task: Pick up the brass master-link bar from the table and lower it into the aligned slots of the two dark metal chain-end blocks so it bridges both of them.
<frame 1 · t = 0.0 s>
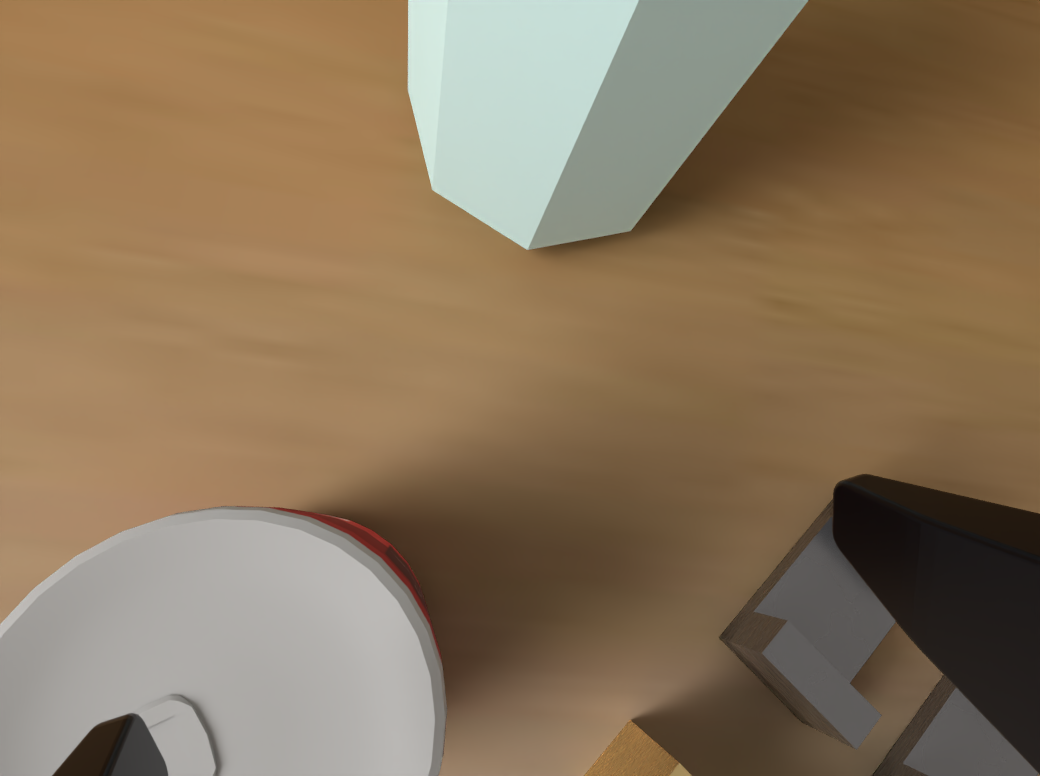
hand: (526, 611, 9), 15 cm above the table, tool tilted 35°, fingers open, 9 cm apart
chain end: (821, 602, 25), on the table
water bottle: (539, 141, 27), on the table
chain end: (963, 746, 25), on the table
canned food: (301, 637, 22), on the table
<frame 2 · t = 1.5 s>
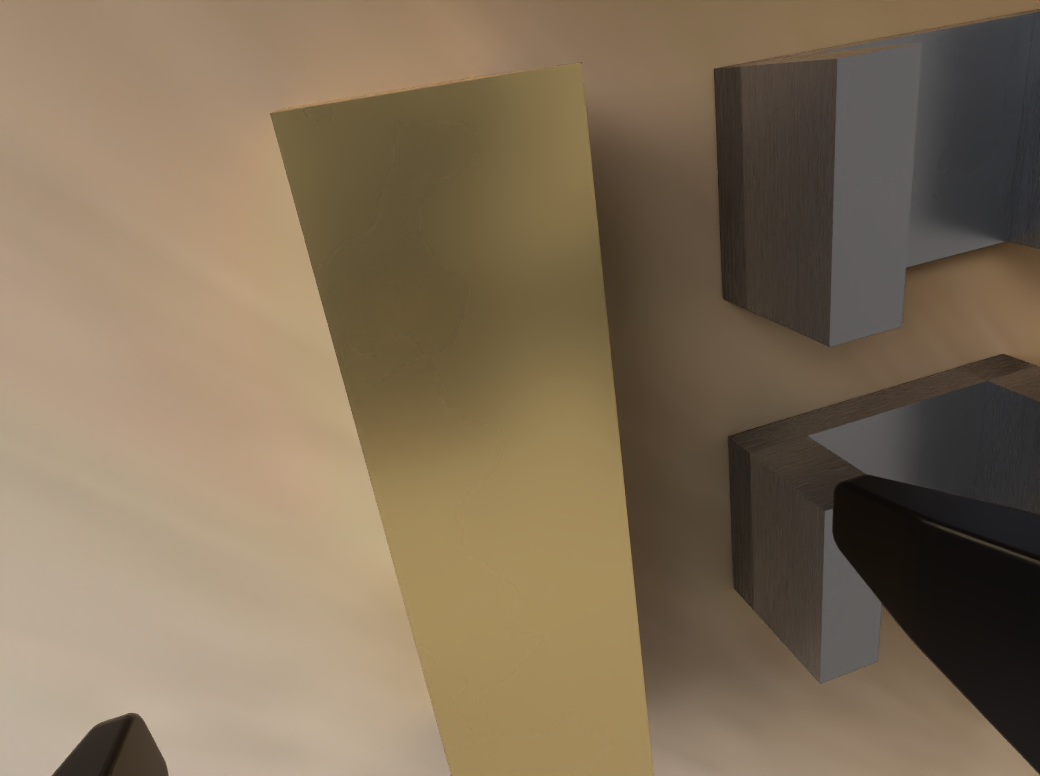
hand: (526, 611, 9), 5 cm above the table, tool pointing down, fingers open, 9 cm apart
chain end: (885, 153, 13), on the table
master link: (454, 439, 13), on the table
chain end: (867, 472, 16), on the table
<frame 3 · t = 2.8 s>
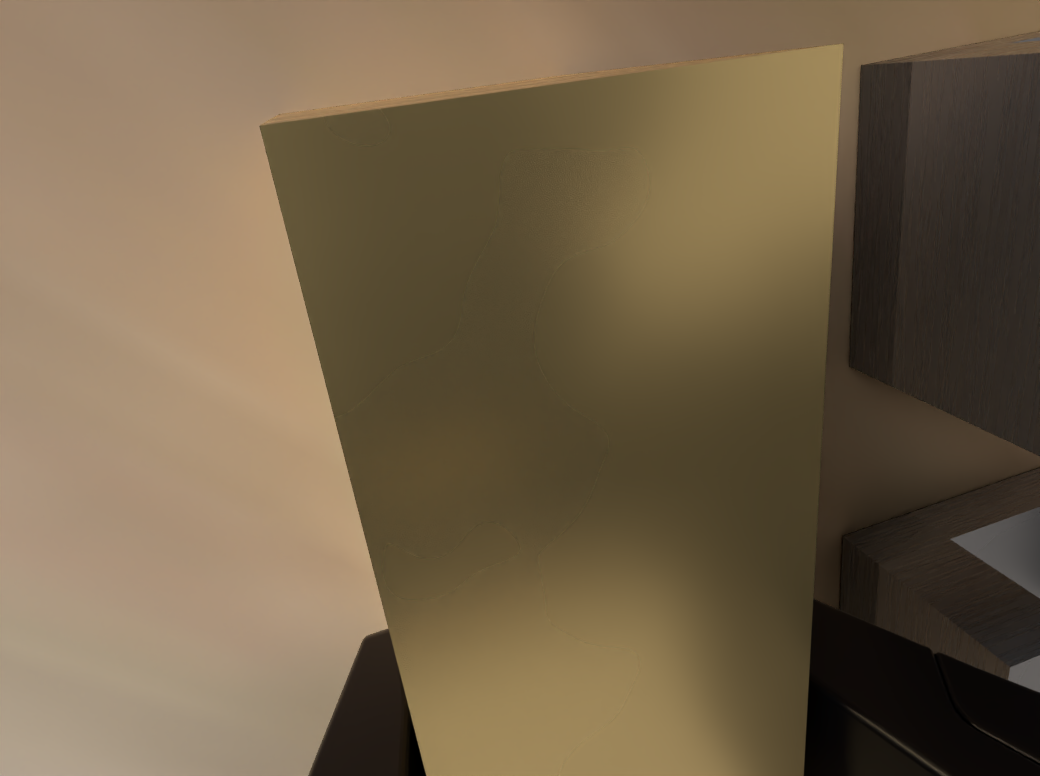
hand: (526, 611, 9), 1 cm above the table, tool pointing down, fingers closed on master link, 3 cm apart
master link: (501, 557, 10), on the table, touching gripper
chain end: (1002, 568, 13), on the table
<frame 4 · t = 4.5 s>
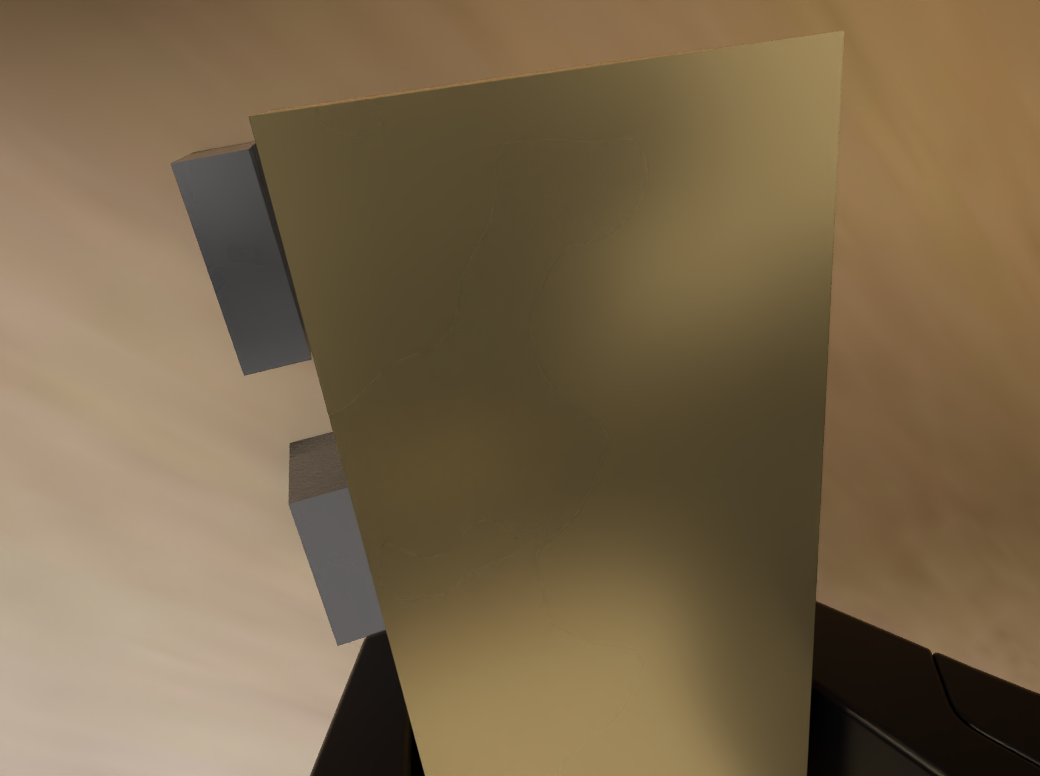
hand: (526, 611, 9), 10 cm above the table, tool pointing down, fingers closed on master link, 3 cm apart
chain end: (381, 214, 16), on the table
master link: (501, 556, 10), point 9 cm above the table, touching gripper
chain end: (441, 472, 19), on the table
when the fingers open (4 cm above the table, at t = 6.1 s): master link drops 2 cm, resting on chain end, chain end.
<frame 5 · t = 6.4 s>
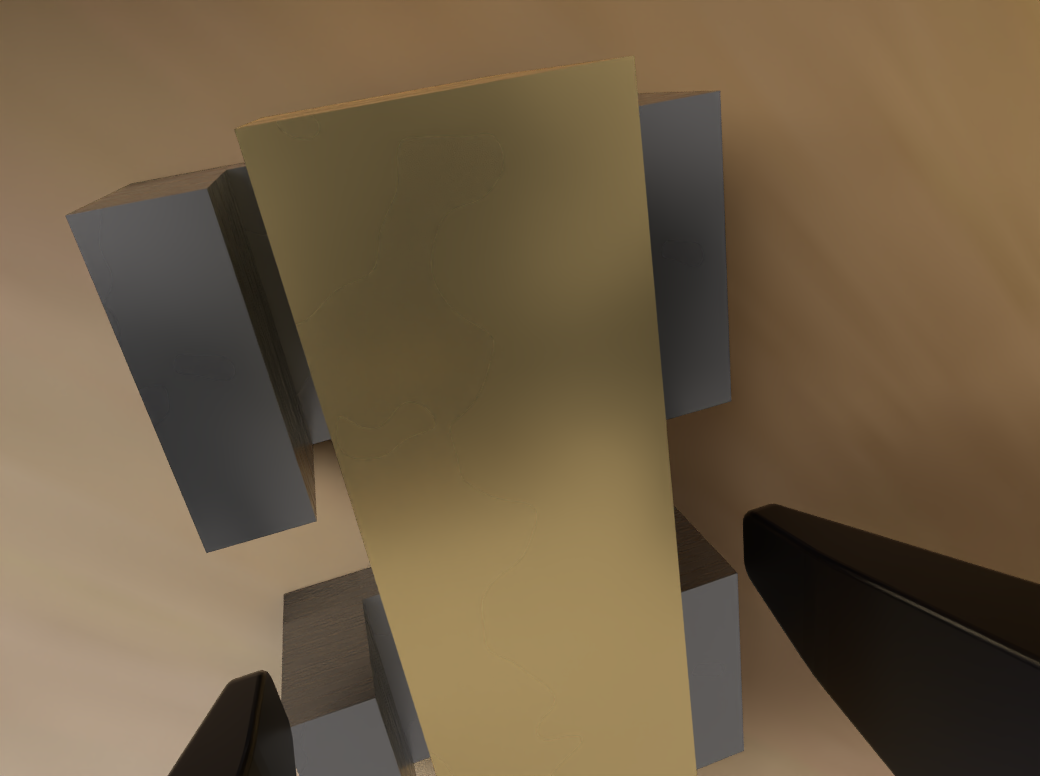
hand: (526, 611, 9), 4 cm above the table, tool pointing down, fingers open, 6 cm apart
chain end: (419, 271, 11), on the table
master link: (468, 485, 12), point 1 cm above the table, touching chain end, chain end
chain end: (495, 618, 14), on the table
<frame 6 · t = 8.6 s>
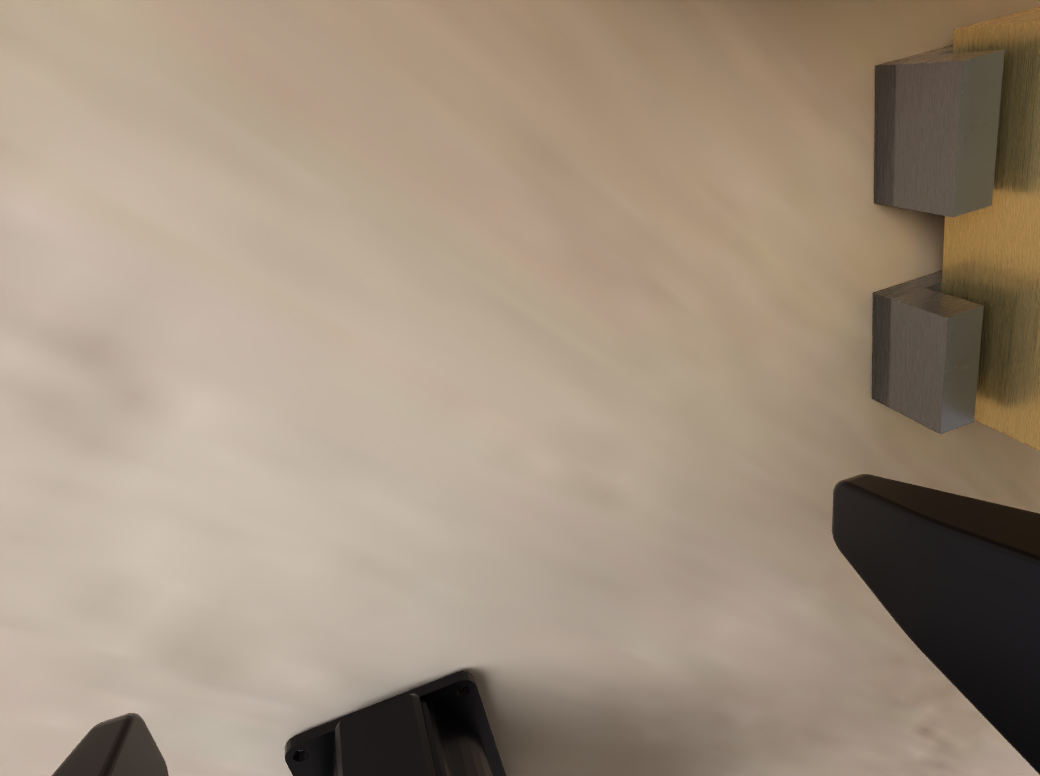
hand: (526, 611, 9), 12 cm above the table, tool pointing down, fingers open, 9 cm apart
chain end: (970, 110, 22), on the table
master link: (983, 224, 23), point 1 cm above the table, touching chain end, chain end
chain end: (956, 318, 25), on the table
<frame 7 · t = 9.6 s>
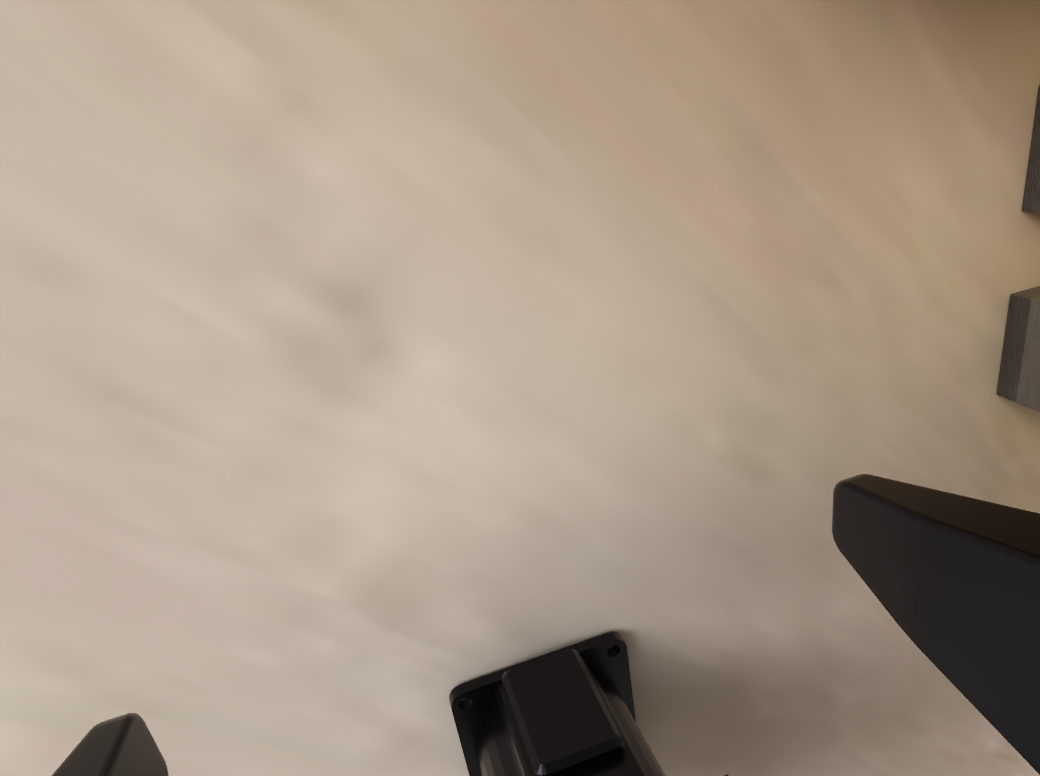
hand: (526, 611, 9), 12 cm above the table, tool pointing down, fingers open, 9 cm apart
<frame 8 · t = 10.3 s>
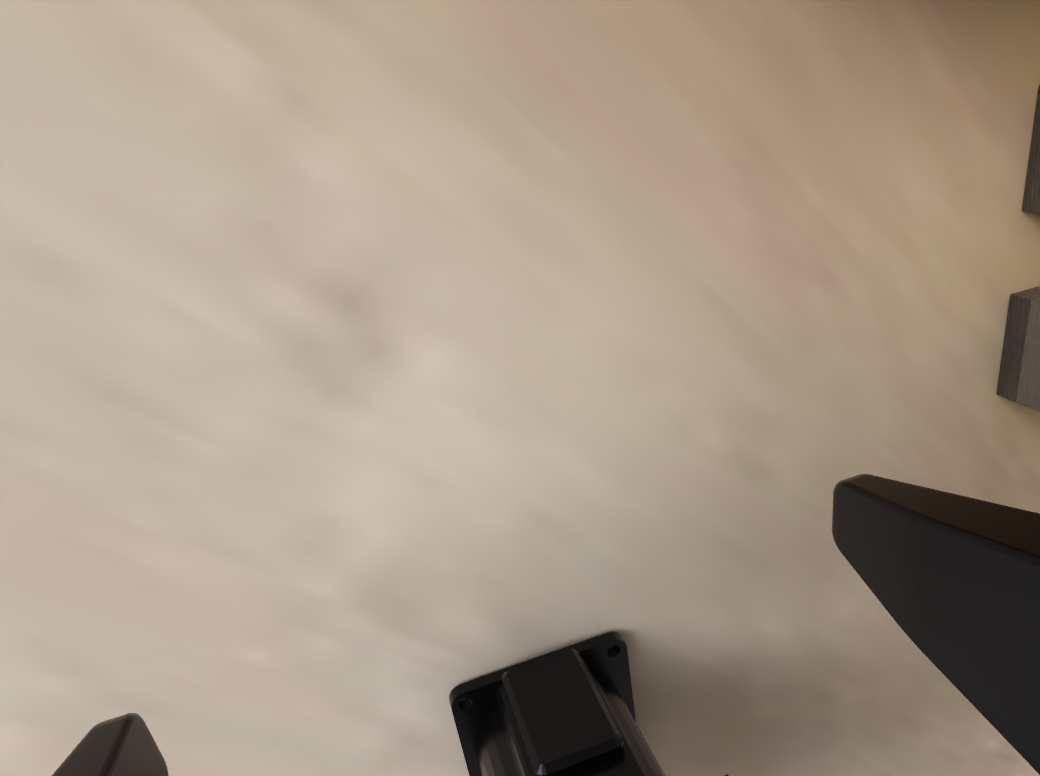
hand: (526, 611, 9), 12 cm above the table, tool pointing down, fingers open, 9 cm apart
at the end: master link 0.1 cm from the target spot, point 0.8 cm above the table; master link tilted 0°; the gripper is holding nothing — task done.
